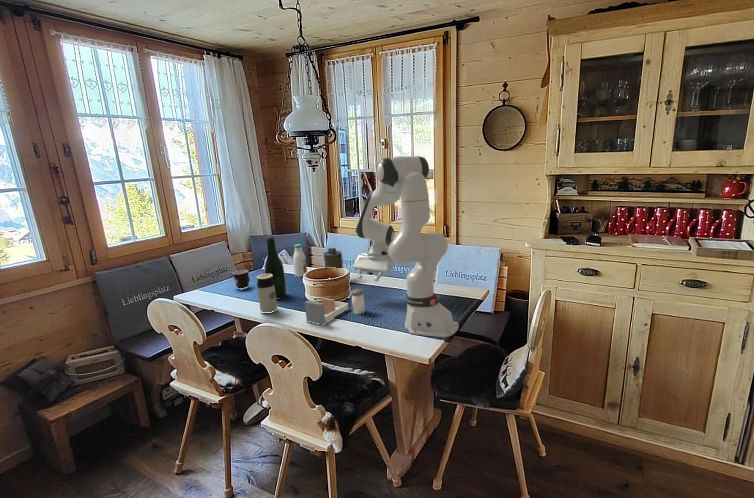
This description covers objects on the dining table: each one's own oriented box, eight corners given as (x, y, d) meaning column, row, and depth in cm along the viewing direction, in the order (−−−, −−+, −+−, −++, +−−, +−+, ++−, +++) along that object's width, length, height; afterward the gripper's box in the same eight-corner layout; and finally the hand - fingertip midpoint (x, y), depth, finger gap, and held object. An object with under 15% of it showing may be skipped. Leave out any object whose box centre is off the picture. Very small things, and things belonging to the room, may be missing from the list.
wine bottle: (264, 297, 218) (256, 237, 210) (281, 292, 224) (274, 233, 217) (273, 301, 210) (265, 239, 202) (291, 296, 217) (284, 236, 209)
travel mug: (257, 311, 198) (252, 276, 193) (272, 306, 203) (267, 272, 199) (266, 315, 192) (261, 279, 188) (280, 310, 197) (276, 275, 193)
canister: (322, 283, 235) (319, 250, 231) (332, 278, 244) (329, 245, 240) (338, 285, 230) (335, 251, 226) (347, 279, 239) (345, 246, 235)
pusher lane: (348, 309, 193) (347, 290, 191) (322, 325, 177) (320, 304, 175) (333, 306, 198) (331, 288, 196) (306, 322, 182) (304, 302, 179)
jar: (367, 310, 190) (365, 289, 188) (360, 315, 185) (359, 293, 183) (357, 309, 193) (355, 288, 191) (350, 313, 188) (348, 291, 186)
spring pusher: (335, 313, 187) (334, 299, 185) (334, 314, 186) (332, 300, 184) (324, 311, 190) (322, 297, 188) (322, 312, 189) (321, 298, 187)
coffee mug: (234, 287, 237) (232, 271, 235) (249, 285, 241) (247, 268, 238) (236, 293, 227) (234, 276, 224) (252, 290, 230) (250, 273, 228)
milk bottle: (300, 278, 248) (297, 246, 243) (292, 276, 253) (288, 245, 248) (309, 274, 254) (306, 243, 249) (301, 273, 259) (298, 242, 254)
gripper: (356, 250, 203) (346, 274, 197) (392, 253, 192) (383, 278, 186) (361, 256, 207) (352, 280, 202) (397, 259, 197) (388, 285, 191)
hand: (367, 279), depth 194 cm, fingers open, 8 cm apart
